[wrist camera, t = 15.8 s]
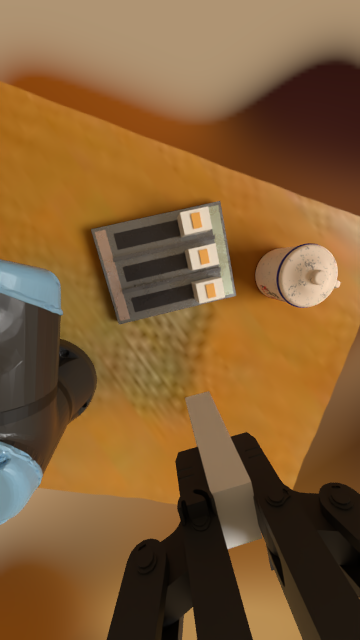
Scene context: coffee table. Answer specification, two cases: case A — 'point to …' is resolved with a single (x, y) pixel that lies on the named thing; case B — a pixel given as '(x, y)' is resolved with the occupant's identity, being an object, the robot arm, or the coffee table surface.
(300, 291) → the teacup with lid
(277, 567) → the robot arm
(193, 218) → the breaker
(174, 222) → the panel
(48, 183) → the coffee table surface
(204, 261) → the breaker
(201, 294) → the breaker
